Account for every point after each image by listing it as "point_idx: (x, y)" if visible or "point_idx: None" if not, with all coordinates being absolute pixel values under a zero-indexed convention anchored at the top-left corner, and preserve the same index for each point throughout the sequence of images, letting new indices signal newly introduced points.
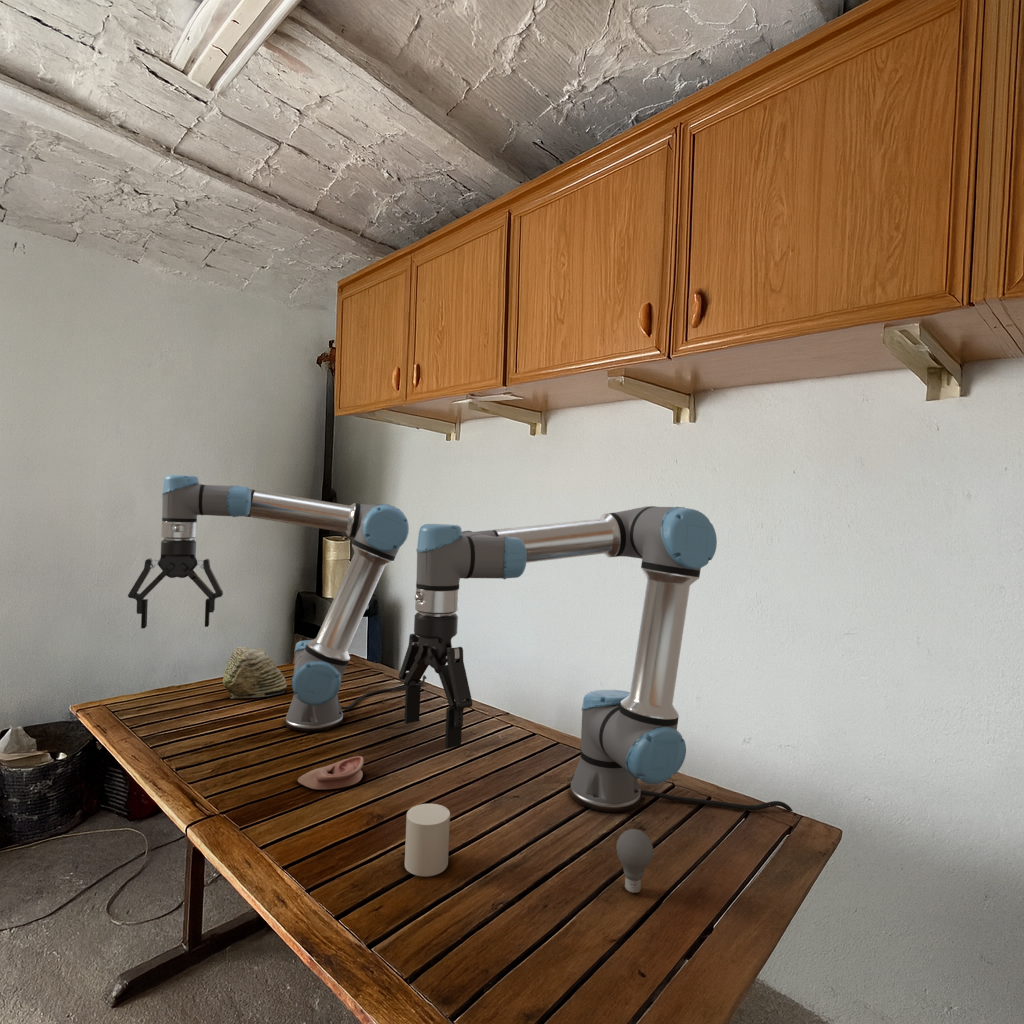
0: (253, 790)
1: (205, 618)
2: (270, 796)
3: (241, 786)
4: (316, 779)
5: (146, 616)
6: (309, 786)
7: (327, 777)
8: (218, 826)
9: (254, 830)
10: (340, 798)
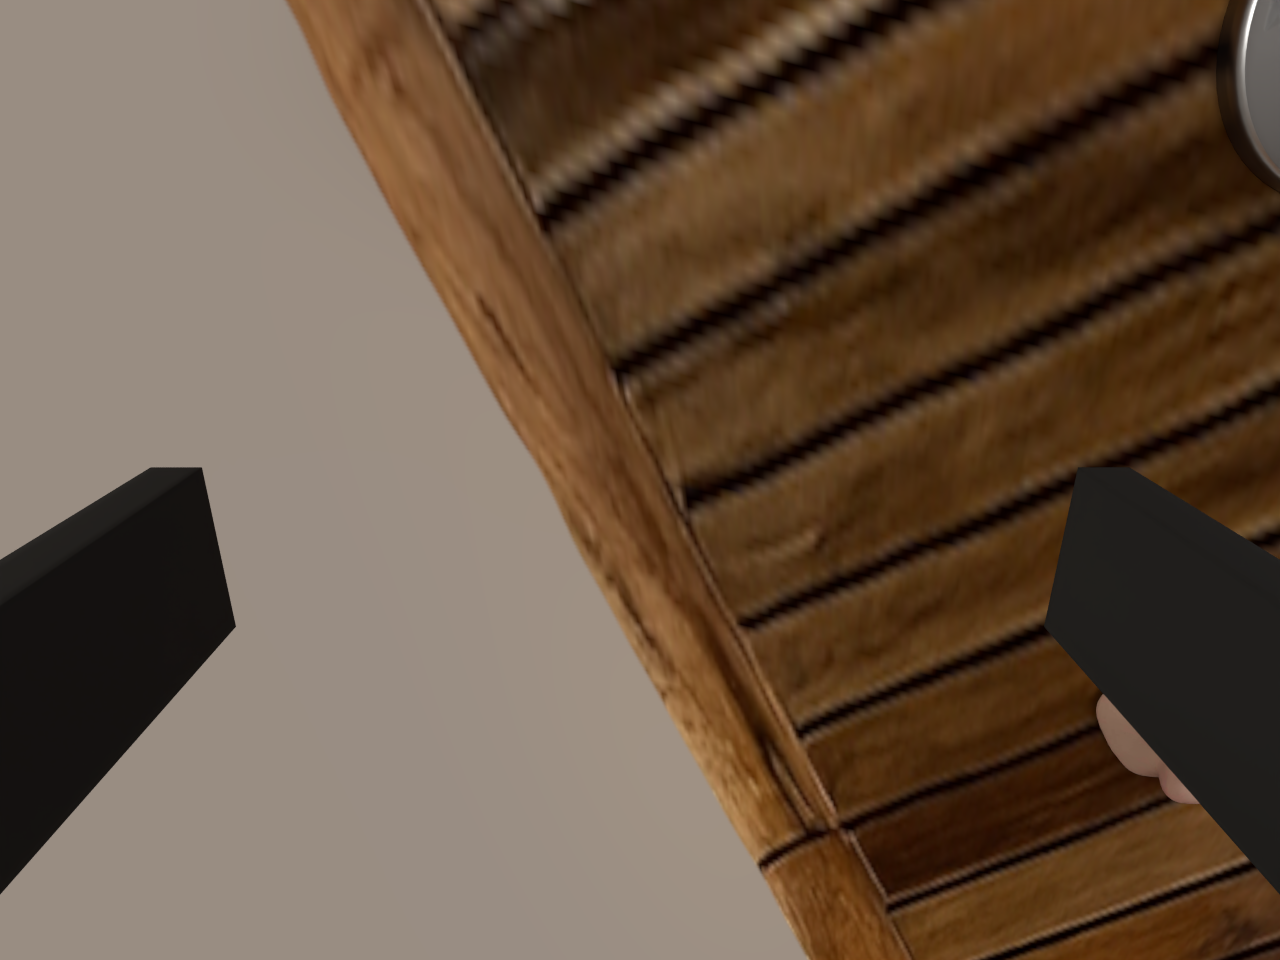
0: (945, 722)
1: (1123, 709)
2: (990, 769)
3: (911, 687)
4: (1157, 767)
5: (110, 604)
6: (1121, 760)
7: (1194, 803)
8: (834, 885)
9: (921, 920)
10: (1186, 825)
